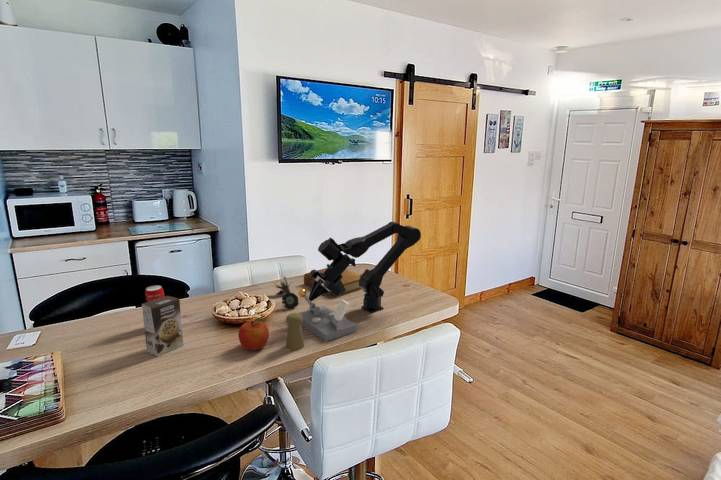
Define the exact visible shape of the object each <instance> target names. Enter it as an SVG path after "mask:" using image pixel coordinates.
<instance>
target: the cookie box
mask: <svg viewBox="0 0 721 480" xmlns="http://www.w3.org/2000/svg"><path fill="white" fill-rule="evenodd" d="M164 296H165V297H162V298H159V299H156V300H153V301H149V302H147V301H146V302H144V303H141V308H142V316H143V317H142V319H143V326H144V336H145V338H144V339H145V346H146V352H147V351H148V353H149V352H150V354H152V355H153V356H155V357H160V356H162V355H165V354H167V353H169V352H171V351H174V350H176V349H178V348H181V347H183V346H184V337H183V325H182V323H183V322H182V313H181V312H182V311H181V303H180V302H181V301H180V298H177V297H174V296H170V295H164Z"/></svg>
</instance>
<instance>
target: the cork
mask: <svg viewBox="0 0 721 480" xmlns="http://www.w3.org/2000/svg"><path fill="white" fill-rule="evenodd" d="M299 313H300V312H291V313H289V314H287V316H286V317H285V318H286V319H285V321H286V324H287V331H286V332H287V333H286V340H285V348H286V349H287V350H288V351H299V350H302V349H303V348H305V339H304V334H303V327H302V325H301V323H302V320H303V318H302V315H301V314H299Z"/></svg>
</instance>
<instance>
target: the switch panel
mask: <svg viewBox="0 0 721 480" xmlns="http://www.w3.org/2000/svg"><path fill="white" fill-rule="evenodd" d="M312 303H313V305H315V306H316V303H315V302H312ZM308 305H309V304H308ZM310 308H311V307H310V305H309V309H308V310H305V311H301V312H298V313H299V314H301V315H302V318H303V320H302V323H301V327H302V326H303V327H304V328H305V329H307V330H308V331H310V332H311V333H312V334H314V335H315V336H317V337H318V338H320V339H321V340H323V341H324V342H325V343H326V342H328V341H333V340H335V339H338V338H340V337H341V338H342V337H343V336H347V335H349V334H352V333H355V332H357V329H358V328H357V326H358V325H357V323H354V322H353V321H351V320H349V319H347V318H346V317H344V316H343V318H342V320H339V321H336V326H335V325H334V324H333V323H332V322H331V321H330V320H331V318H332V317H334V315H335V312H336V311H333V310H332V309H330V308H329V307H327V306H326V305H322V306H316V307H314V312H313V311H312V310H311V309H310Z"/></svg>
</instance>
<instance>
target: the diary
mask: <svg viewBox="0 0 721 480" xmlns="http://www.w3.org/2000/svg"><path fill="white" fill-rule="evenodd" d="M326 269H327V267H325V268H321V269H317V270H316V271H318V272H319V273H320V272H321V273H323V272H324V271H325V270H326ZM310 272H311V271H309V272H305V273H304V275H303V284H304V285H305V284H306V286H308V287H310V288H312V283H313V279H315V278H314V277H312V276H311V275H310V274H309V273H310ZM341 275H342V276H343V277H342V279H341V282H342V283H343V285H344V287H345V289H346V291H345V292H344V293H342V294H341V295H339V296H338V297H337V296H336V295H334V294H333V293H332V292H331V291H330V294H329V293H327V294H329V295H331V296H333V297H336V298H340V297H342V296H345V295H347V294H348V295H349V294H351V293H354V292H357V291H360V290H363V289H362V288H361V287H360V286H359V279H360V275H362V274H360V273H357V272H354V271H351V270H348V269H346V270H345V271H344V272H343V273H342V274H341Z"/></svg>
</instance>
